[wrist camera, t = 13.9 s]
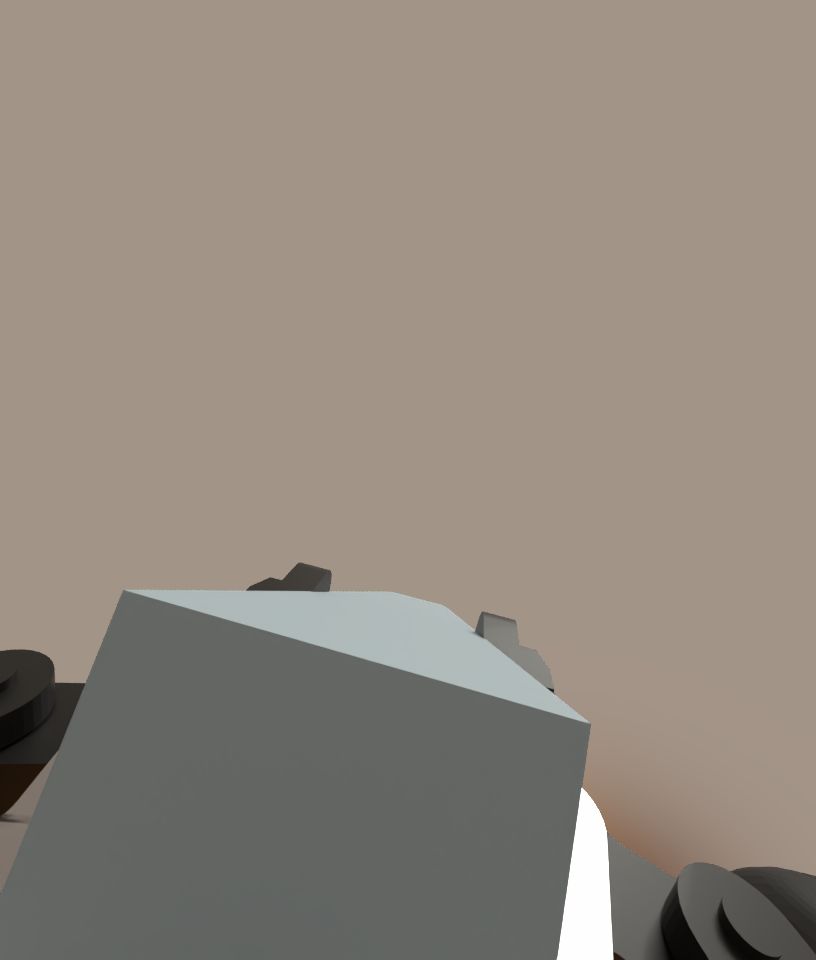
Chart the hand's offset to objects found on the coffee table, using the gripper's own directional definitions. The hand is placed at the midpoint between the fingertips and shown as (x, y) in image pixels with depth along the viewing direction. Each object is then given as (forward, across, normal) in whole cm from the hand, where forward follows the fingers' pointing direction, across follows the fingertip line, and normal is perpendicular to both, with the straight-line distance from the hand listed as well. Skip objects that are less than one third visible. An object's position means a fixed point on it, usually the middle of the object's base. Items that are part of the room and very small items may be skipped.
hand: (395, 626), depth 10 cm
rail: (+4, 0, +6) cm, 7 cm away
